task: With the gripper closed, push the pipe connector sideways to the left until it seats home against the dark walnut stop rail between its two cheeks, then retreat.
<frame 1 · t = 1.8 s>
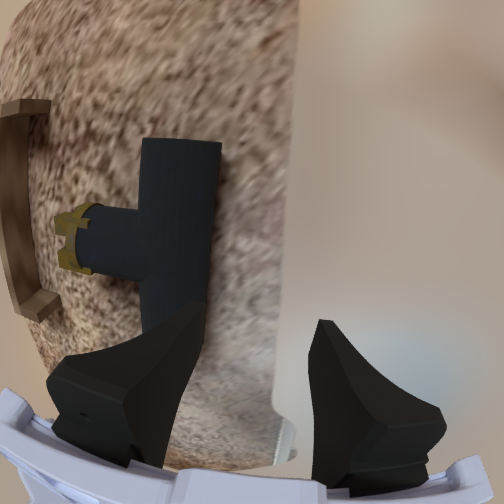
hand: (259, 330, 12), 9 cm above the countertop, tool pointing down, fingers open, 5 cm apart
pipe connector: (147, 232, 22), on the countertop
stop rail: (25, 207, 21), on the countertop
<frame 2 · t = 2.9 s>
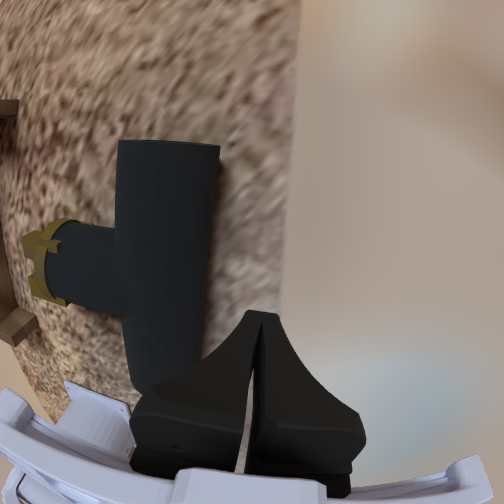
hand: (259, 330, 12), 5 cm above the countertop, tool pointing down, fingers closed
pipe connector: (131, 254, 18), on the countertop
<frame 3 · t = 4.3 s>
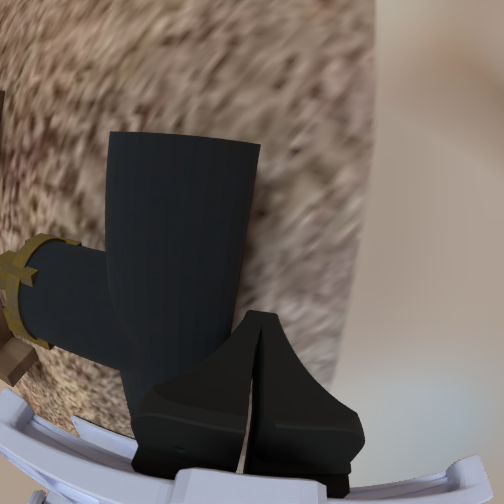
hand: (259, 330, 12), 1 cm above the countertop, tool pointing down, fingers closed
pipe connector: (130, 281, 14), on the countertop, touching gripper
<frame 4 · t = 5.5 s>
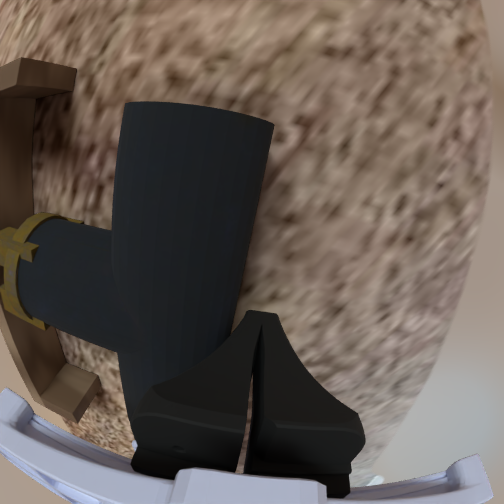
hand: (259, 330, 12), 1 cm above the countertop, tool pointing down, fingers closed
pipe connector: (132, 263, 14), on the countertop, touching gripper
stop rail: (32, 250, 14), on the countertop
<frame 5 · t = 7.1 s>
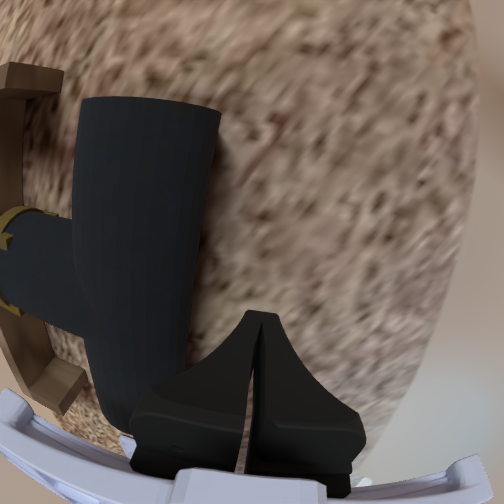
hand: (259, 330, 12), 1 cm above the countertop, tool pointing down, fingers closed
pipe connector: (103, 254, 14), on the countertop
stop rail: (22, 246, 14), on the countertop
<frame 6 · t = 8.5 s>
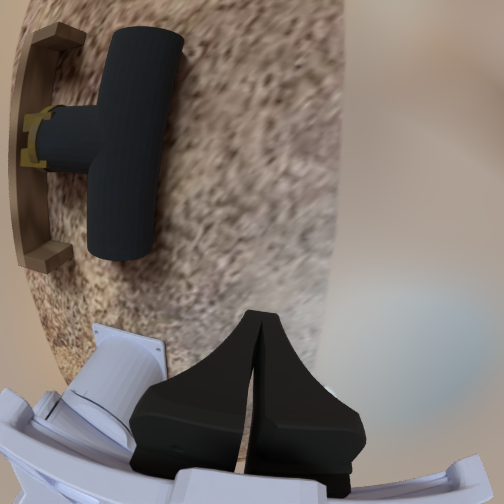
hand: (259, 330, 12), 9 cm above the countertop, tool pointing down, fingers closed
pipe connector: (109, 138, 19), on the countertop
stop rail: (43, 145, 19), on the countertop
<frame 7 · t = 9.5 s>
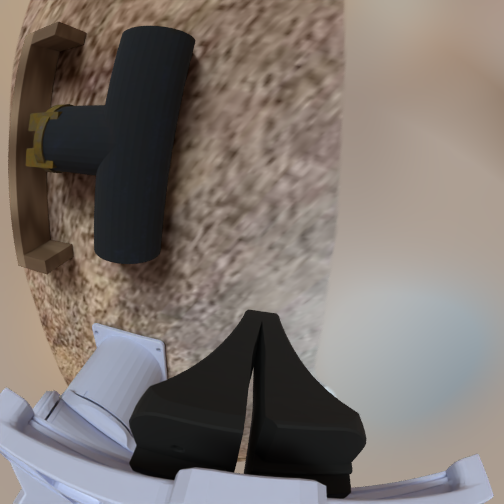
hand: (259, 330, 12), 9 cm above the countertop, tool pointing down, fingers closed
pipe connector: (116, 139, 19), on the countertop
stop rail: (43, 145, 19), on the countertop
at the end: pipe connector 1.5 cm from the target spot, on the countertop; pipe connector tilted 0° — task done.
